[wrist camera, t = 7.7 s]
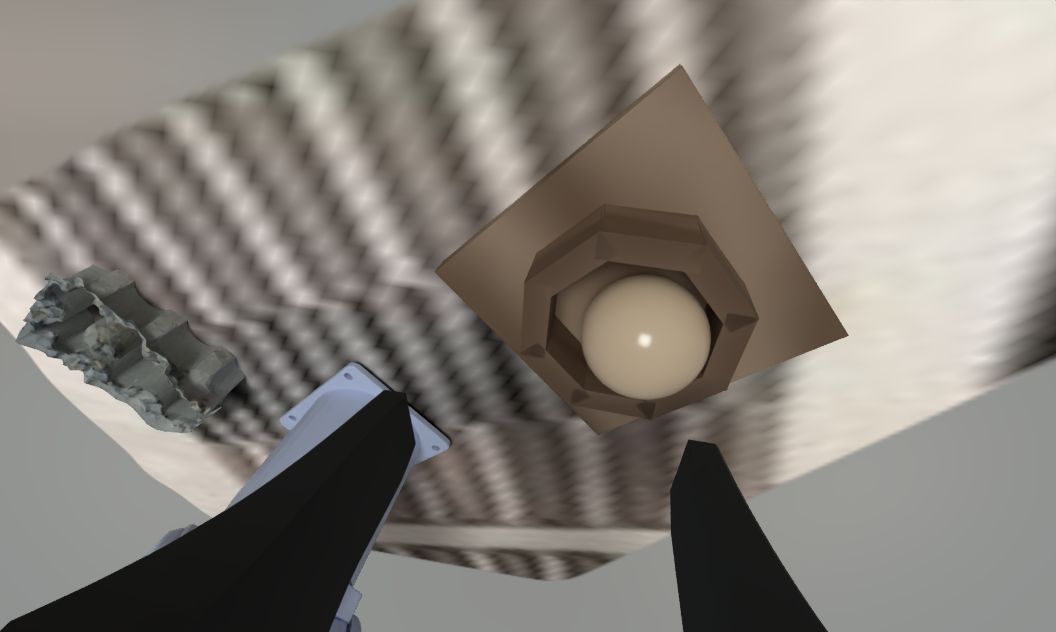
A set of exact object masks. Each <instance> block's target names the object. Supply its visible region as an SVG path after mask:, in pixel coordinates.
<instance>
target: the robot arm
mask: <svg viewBox="0 0 1056 632" xmlns="http://www.w3.org/2000/svg"><path fill="white" fill-rule="evenodd" d="M280 423H281V424H282V425H283V426H284V427H286V428H287V429H289V430H290V431H289V432H288V434H287V435H286V436H285V437H284V438H283V440H282V441H281V442H280V443H279V444H278V446H277V447H276V448H275V449H274V450H273V452H272V453H271V454H270V455H269V456H268V458H267V459H266V460H265V461H264V462H263V464H262V465H261V466H260V467H259V468H258V470H257V471H256V472H255V473H254V474H253V476H252V477H251V478H250V479H249V480H248V482H247V483H246V484H245V485H244V486H243V488H242V489H241V490H240V491H239V492H238V494H237V495H236V496H235V497H234V498H233V500H232V501H231V502H230V504H229V505H228V507H227V508H226V509H225V511H223V512H222V513H220V514H218V515H217V516H215V517H213V518H212V519H210V520H209V521H207V522H205V523H203V524H202V525H200V526H196V525H194V524H190V525H188V526H187V527H185V528H184V529H183V528H180V529H176V530H172V531H169V532H168V533H167V534H166V535H165V536H164V537H163V538H162V539H161V540H160V541H159V542H158V543H157V544H156V545H155V546H154V547H153V548H152V549H151V550H150V552H149V553H148V554H147V555H146V556H145V557H143V558H141V559H139V560H138V561H136V562H134V563H132V564H130V565H128V566H126V567H124V568H122V569H120V570H118V571H116V572H114V573H112V574H110V575H108V576H106V577H104V578H102V579H100V580H98V581H96V582H94V583H92V584H90V585H88V586H86V587H84V588H81V589H79V590H78V591H75V592H73V593H71V594H69V595H67V596H64V597H62V598H60V599H58V600H56V601H53V602H52V603H49V604H47V605H45V606H43V607H40V608H38V609H36V610H34V611H32V612H30V613H28V614H25V615H23V616H21V617H18V618H16V619H14V620H12V621H10V622H9V623H8V624H7V625H6V626H5V627H4V628H3V629H1V631H0V632H361V624H360V621H359V619H358V617H356V616H355V615H354V612H355V610H356V607H357V605H358V603H359V601H360V599H361V597H362V594H361V593H360V592H358V591H357V590H355V589H354V588H353V585H354V583H355V581H356V579H357V577H358V575H359V573H360V571H361V569H362V567H363V565H364V563H365V561H366V559H367V557H368V555H369V553H370V551H371V549H372V547H373V545H374V543H375V541H376V539H377V537H378V535H379V533H380V531H381V529H382V527H383V525H384V523H385V521H386V519H387V517H388V515H389V513H390V511H391V508H392V506H393V504H394V502H395V500H396V498H397V496H398V494H399V492H400V490H401V488H402V486H403V484H404V482H405V480H406V478H407V476H408V474H409V472H410V470H411V468H412V466H414V465H416V464H418V463H420V462H422V461H425V460H427V459H429V458H431V457H433V456H435V455H437V454H439V453H441V452H443V451H445V450H447V449H448V448H449V446H450V440H449V439H448V438H447V437H445V436H444V435H443V434H442V433H441V432H439V431H438V430H437V429H436V428H435V427H434V426H432V425H431V424H430V423H429V422H428V421H426V420H425V419H424V418H423V417H422V416H420V415H419V414H418V413H417V412H416V411H414V410H413V409H412V408H411V407H410V406H408V401H407V396H406V393H402V392H396V391H391V390H389V389H388V388H387V387H386V386H385V385H383V384H382V383H381V382H380V381H379V380H377V379H376V378H375V377H374V376H373V375H372V374H370V373H369V372H368V371H367V370H366V369H364V368H363V367H362V366H361V365H359V364H357V363H349V364H348V365H347V366H345V367H344V368H343V369H341V370H340V371H339V372H338V373H336V374H335V375H334V376H333V377H331V378H330V379H329V380H327V381H326V382H325V383H324V384H322V385H321V386H320V387H318V388H317V389H316V390H315V391H313V392H312V393H311V394H309V395H308V396H307V397H306V398H304V399H303V400H302V401H300V402H299V403H298V404H297V405H295V406H294V407H293V408H291V409H290V410H289V411H288V412H286V413H285V414H284V415H283V416H282V417H281V418H280ZM670 501H671V537H672V545H673V553H674V561H675V570H676V578H677V584H678V593H679V601H680V608H681V616H682V625H683V632H828V631H827V630H826V629H825V627H824V626H823V624H822V623H821V621H820V620H819V619H818V617H817V616H816V614H815V613H814V611H813V610H812V608H811V607H810V606H809V604H808V602H807V601H806V600H805V598H804V597H803V595H802V594H801V592H800V591H799V589H798V587H797V586H796V584H795V583H794V581H793V580H792V578H791V577H790V575H789V573H788V572H787V571H786V569H785V567H784V566H783V564H782V563H781V561H780V559H779V558H778V556H777V554H776V553H775V551H774V550H773V548H772V546H771V545H770V543H769V541H768V539H767V538H766V536H765V534H764V533H763V531H762V529H761V527H760V526H759V524H758V522H757V521H756V519H755V517H754V515H753V514H752V512H751V510H750V509H749V506H748V505H747V503H746V501H745V499H744V497H743V495H742V493H741V492H740V490H739V488H738V486H737V484H736V482H735V480H734V478H733V476H732V474H731V472H730V470H729V468H728V466H727V464H726V462H725V460H724V458H723V456H722V454H721V452H720V450H719V448H718V447H717V446H716V444H712V443H706V442H700V441H694V440H688V442H687V445H686V448H685V451H684V453H683V456H682V459H681V462H680V465H679V467H678V470H677V473H676V476H675V479H674V481H673V484H672V487H671V490H670Z"/></svg>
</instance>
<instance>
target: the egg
mask: <svg viewBox="0 0 1056 632" xmlns="http://www.w3.org/2000/svg"><path fill="white" fill-rule="evenodd" d="M710 344H711V331H710V325H709V321H708V318H707V315H706V313H705V310H704V309H703V307H702V305H701V304H700V302H699V301H698V299H697V298H696V297H695V296H694V295H693V294H692V293H691V292H690V291H689V290H688V289H686V288H685V287H684V286H682V285H681V284H679V283H677V282H675V281H673V280H671V279H668V278H666V277H663V276H658V275H650V274H638V275H632V276H628V277H624V278H622V279H619V280H617V281H615V282H613V283H611V284H610V285H608V286H607V287H605V288H604V289H603V290H602V291H601V292H599V294H598V295H597V296H596V297H595V298H594V299H593V301H592V302H591V304H590V305H589V307H588V309H587V311H586V313H585V316H584V319H583V323H582V327H581V345H582V350H583V354H584V357H585V359H586V362H587V364H588V366H589V367H590V369H591V371H592V372H593V373H594V375H595V376H596V377H597V378H598V379H599V380H600V381H601V382H602V383H603V384H604V385H605V386H607V387H608V388H609V389H611V390H612V391H614V392H616V393H618V394H621V395H623V396H626V397H629V398H634V399H640V400H654V399H660V398H664V397H667V396H670V395H673V394H675V393H677V392H679V391H681V390H682V389H684V388H685V387H687V386H688V385H689V384H690V383H691V382H692V381H693V380H694V379H695V378H696V377H697V376H698V375H699V373H700V372H701V370H702V369H703V367H704V365H705V363H706V361H707V358H708V355H709V351H710Z"/></svg>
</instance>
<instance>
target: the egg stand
mask: <svg viewBox="0 0 1056 632" xmlns="http://www.w3.org/2000/svg"><path fill="white" fill-rule="evenodd" d="M435 273H436V274H437V275H438V276H439V277H440V278H441V279H442V280H443V281H444V282H445V283H446V284H447V285H448V286H449V287H450V288H451V289H452V290H453V291H454V292H455V293H456V294H457V295H458V296H459V297H460V298H461V299H462V300H463V301H464V302H465V303H466V304H467V305H468V306H469V307H470V308H471V309H472V310H473V311H474V312H475V313H476V314H477V315H478V316H479V317H480V318H481V319H482V320H483V321H484V322H485V323H486V324H487V325H488V326H489V327H490V328H491V329H492V330H493V331H494V332H495V333H496V334H497V335H498V336H499V337H500V338H501V339H502V340H503V341H504V342H505V343H506V344H507V345H508V346H509V347H510V348H511V349H512V350H513V351H514V352H515V353H516V354H517V355H518V356H519V357H520V358H521V359H522V360H523V361H524V362H525V363H526V364H527V365H528V366H529V367H530V368H531V369H532V370H533V371H534V372H535V373H536V374H537V375H538V376H539V377H540V378H541V379H542V380H543V381H544V382H545V383H546V384H547V385H548V386H549V387H550V388H551V389H552V390H553V391H554V392H555V393H556V394H557V395H558V396H559V397H560V398H561V399H562V400H563V401H564V402H566V403H567V404H568V405H569V406H570V407H571V408H572V409H573V410H574V411H575V412H576V413H577V414H578V415H579V416H580V417H581V418H582V419H583V420H584V421H585V422H586V423H587V424H588V425H589V426H590V427H591V428H592V429H593V430H594V431H595V432H596V433H597V434H598V435H600V434H602V433H605V432H607V431H610V430H612V429H615V428H617V427H620V426H623V425H625V424H628V423H630V422H633V421H635V420H638V419H640V418H644V419H649V420H651V419H653V418H656V417H658V416H661V415H663V414H666V413H669V412H671V411H674V410H676V409H679V408H681V407H684V406H686V405H689V404H692V403H694V402H697V401H699V400H702V399H704V398H707V397H710V396H712V395H715V394H717V393H720V392H722V391H726V390H727V388H728V386H729V383H731V382H733V381H736V380H738V379H741V378H743V377H746V376H748V375H751V374H753V373H756V372H758V371H761V370H763V369H766V368H768V367H771V366H774V365H776V364H779V363H781V362H784V361H786V360H789V359H791V358H794V357H796V356H799V355H801V354H804V353H806V352H809V351H811V350H814V349H816V348H819V347H821V346H824V345H826V344H829V343H831V342H834V341H836V340H839V339H841V338H844V337H847V336H849V335H848V334H847V332H846V330H845V329H844V327H843V325H842V324H841V322H840V321H839V319H838V317H837V316H836V314H835V313H834V311H833V309H832V308H831V306H830V304H829V303H828V301H827V300H826V298H825V296H824V295H823V293H822V291H821V290H820V288H819V287H818V285H817V283H816V282H815V280H814V278H813V277H812V275H811V274H810V272H809V270H808V269H807V267H806V266H805V264H804V262H803V261H802V259H801V257H800V256H799V254H798V253H797V251H796V249H795V248H794V246H793V244H792V243H791V241H790V240H789V238H788V236H787V235H786V233H785V232H784V230H783V228H782V227H781V225H780V223H779V222H778V220H777V219H776V217H775V215H774V214H773V212H772V210H771V209H770V207H769V206H768V204H767V202H766V201H765V199H764V198H763V196H762V194H761V193H760V191H759V189H758V188H757V186H756V185H755V183H754V181H753V180H752V178H751V176H750V175H749V173H748V172H747V170H746V168H745V167H744V165H743V163H742V162H741V160H740V159H739V157H738V155H737V154H736V152H735V151H734V149H733V147H732V146H731V144H730V142H729V141H728V139H727V138H726V136H725V134H724V133H723V131H722V129H721V128H720V126H719V125H718V123H717V121H716V120H715V118H714V117H713V115H712V113H711V112H710V110H709V108H708V107H707V105H706V104H705V102H704V100H703V99H702V97H701V95H700V94H699V92H698V91H697V89H696V87H695V86H694V84H693V83H692V81H691V79H690V78H689V76H688V74H687V73H686V71H685V70H684V68H683V67H682V66H681V65H680V64H679V65H678V66H677V67H676V68H675V69H673V70H672V71H671V72H670V73H669V74H667V75H666V76H665V77H664V78H663V79H661V80H660V81H659V82H658V83H657V84H655V85H654V86H653V87H652V88H651V89H649V90H648V91H647V92H646V93H645V94H643V95H642V96H641V97H640V98H639V99H637V100H636V101H635V102H634V103H633V104H631V105H630V106H629V107H628V108H627V109H625V110H624V111H623V112H622V113H621V114H619V115H618V116H617V117H616V118H615V119H613V120H612V121H611V122H610V123H609V124H607V125H606V126H605V127H604V128H603V129H601V130H600V131H599V132H598V133H597V134H595V135H594V136H593V137H592V138H591V139H589V140H588V141H587V142H586V143H585V144H583V145H582V146H581V147H580V148H579V149H577V150H576V151H575V152H574V153H573V154H571V155H570V156H569V157H568V158H567V159H565V160H564V161H563V162H562V163H561V164H559V165H558V166H557V167H556V168H555V169H553V170H552V171H551V172H550V173H549V174H547V175H546V176H545V177H544V178H543V179H541V180H540V181H539V182H538V183H537V184H535V185H534V186H533V187H532V188H531V189H529V190H528V191H527V192H526V193H525V194H523V195H522V196H521V197H520V198H519V199H517V200H516V201H515V202H514V203H513V204H511V205H510V206H509V207H508V208H507V209H505V210H504V211H503V212H502V213H501V214H499V215H498V216H497V217H496V218H495V219H493V220H492V221H491V222H490V223H489V224H487V225H486V226H485V227H484V228H483V229H481V230H480V231H479V232H478V233H477V234H475V235H474V236H473V237H472V238H471V239H469V240H468V241H467V242H466V243H465V244H463V245H462V246H461V247H460V248H459V249H457V250H456V251H455V252H454V253H453V254H451V255H450V256H449V257H448V258H447V259H445V260H444V261H443V262H442V263H441V265H440V266H439V267H438V269H437V270H436V271H435ZM638 274H650V275H658V276H663V277H666V278H668V279H671V280H673V281H675V282H677V283H679V284H681V285H682V286H684V287H685V288H686V289H688V290H689V291H690V292H691V293H692V294H693V295H694V296H695V297H696V298H697V299H698V301H699V302H700V304H701V305H702V307H703V309H704V310H705V313H706V315H707V318H708V321H709V325H710V331H711V344H710V351H709V355H708V358H707V361H706V363H705V365H704V367H703V369H702V370H701V372H700V373H699V375H698V376H697V377H696V378H695V379H694V380H693V381H692V382H691V383H690V384H689V385H688V386H687V387H685V388H684V389H682V390H681V391H679V392H677V393H675V394H673V395H670V396H667V397H664V398H660V399H654V400H640V399H634V398H629V397H626V396H623V395H621V394H618V393H616V392H614V391H612V390H611V389H609V388H608V387H607V386H605V385H604V384H603V383H602V382H601V381H600V380H599V379H598V378H597V377H596V376H595V375H594V373H593V372H592V371H591V369H590V367H589V366H588V364H587V362H586V359H585V357H584V354H583V350H582V345H581V327H582V323H583V319H584V316H585V313H586V311H587V309H588V307H589V305H590V304H591V302H592V301H593V299H594V298H595V297H596V296H597V295H598V294H599V292H601V291H602V290H603V289H604V288H605V287H607V286H608V285H610V284H611V283H613V282H615V281H617V280H619V279H622V278H624V277H628V276H632V275H638Z"/></svg>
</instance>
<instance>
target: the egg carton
mask: <svg viewBox="0 0 1056 632" xmlns="http://www.w3.org/2000/svg"><path fill="white" fill-rule="evenodd" d="M45 280H49V283H48V284H47V285H46V286H45V288H44V289H42V290H41V291H40V292H39V293H37V294H36V296H35V297H34V299H36V300H37V301H36V302H35V303H34V305H33V306H32V307H31V308H30V310H31V311H30V312H29V313H28V315H27V316H26V318H25V319H24V320H23V321H25V322H27V323H26V325H25V326H24V327H23V328H22V329H21V331H20V333H19V335H18V337H17V339H16V342H17V343H18V344H21V345H24V346H27V347H30V348H34V349H37V350H39V351H42V352H44V353H46V355H47V356H48V357H52V358H58V359H62V361H63V365H65V366H68V368H69V370H81V371H83V373H84V383H86V384H90V385H93V386H97V387H100V388H102V389H103V390H105V391H107V392H108V393H109V394H110V395H112V396H113V397H114V398H115V399H117V400H120V401H122V402H125V403H127V404H128V405H130V406H131V407H132V408H133V409H134V410H135V411H136V412H137V413H138V414H139V415H140V417H141V418H142V419H143V420H144V421H145V422H146V424H148V425H149V426H151V427H153V428H155V429H157V430H161V431H167V432H177V433H188V432H191V431H193V429H194V428H195V427H197V426H198V425H199V424H201V423H202V420H204V419H205V418H207V417H208V416H210V415H212V414H214V413H215V412H216V411H218V410H219V409H220V408H221V407H222V406H220V405H219V404H220V403H221V402H222V401H223V400H224V399H225V398H226V397H227V394H228V393H229V392H230V391H231V390H232V389H233V388H234V387H235V386H236V385H237V384H238V383H239V382H241V381H242V380H243V379H244V378H245V377H246V376H245V375H244V374H243V373H242V371H241V370H240V369H239V368H238V366H237V364H236V357H235V356H234V355H233V354H232V353H231V352H230V351H228V350H227V349H225V348H224V347H222V346H221V347H210V346H207V345H205V344H203V343H202V342H200V341H198V340H197V339H196V338H195V337H194V336H193V335H192V333H191V332H190V330H189V328H188V326H187V320H186V319H185V318H184V317H182V316H180V315H179V314H177V313H175V312H174V311H172V310H167V311H162V310H159V309H156V308H154V307H152V306H151V305H149V304H148V303H146V302H145V301H144V300H143V299H142V298H141V297H140V295H139V294H138V292H137V290H136V288H135V281H134V280H132V279H131V278H130V277H129V276H128V275H126V274H125V273H123V272H122V271H120V270H118V269H116V270H114V271H107V270H103V269H101V268H99V267H97V266H95V265H92V266H90V267H89V268H87V269H85V270H82V271H80V272H78V273H76V274H74V275H72V276H69V277H67V278H65V279H63V280H62V279H60V278H57V277H55V274H54V273H50V274H49V275H47V276H46V277H45ZM93 304H95V305H96V306H97V307H99V314H100V315H101V316H103V317H104V318H102V319H100V320H98V321H97V322H95V323H94V320H93V316H92V314H91V313H90V311H89V310H88V309H87V308H88V307H90V306H91V305H93ZM141 344H142V350H141V348H140V345H141ZM146 359H147V360H146ZM148 360H152V361H157V362H158V363H159V364H160V365H159V366H155V365H154V364H152V363H151V362H149V361H148Z"/></svg>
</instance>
